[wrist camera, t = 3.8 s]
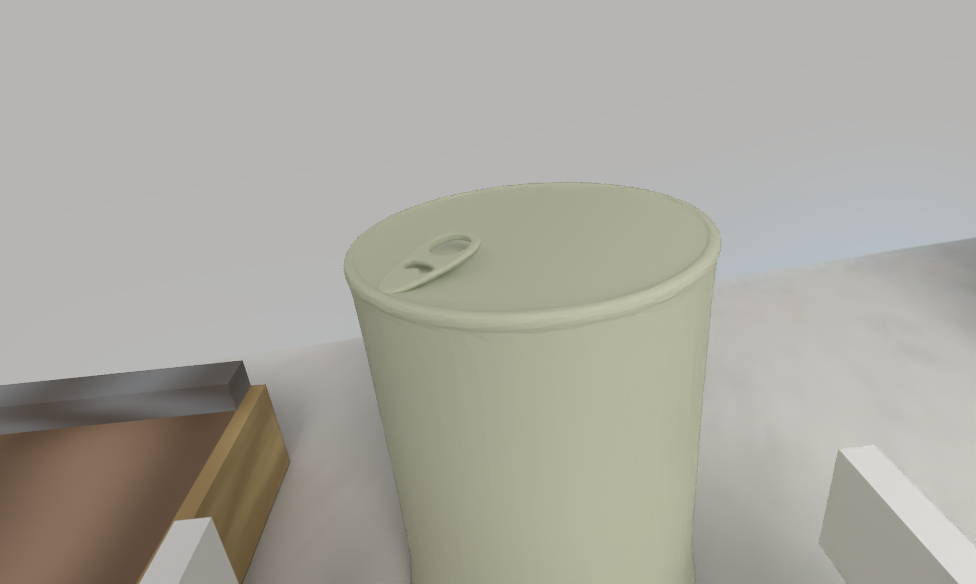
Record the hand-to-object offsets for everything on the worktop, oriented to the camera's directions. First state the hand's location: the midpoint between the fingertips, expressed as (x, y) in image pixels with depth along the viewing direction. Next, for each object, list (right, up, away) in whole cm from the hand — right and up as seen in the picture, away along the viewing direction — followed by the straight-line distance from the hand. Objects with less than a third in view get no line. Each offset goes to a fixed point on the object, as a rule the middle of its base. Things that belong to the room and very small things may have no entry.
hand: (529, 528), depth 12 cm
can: (+1, -4, +7) cm, 8 cm away
